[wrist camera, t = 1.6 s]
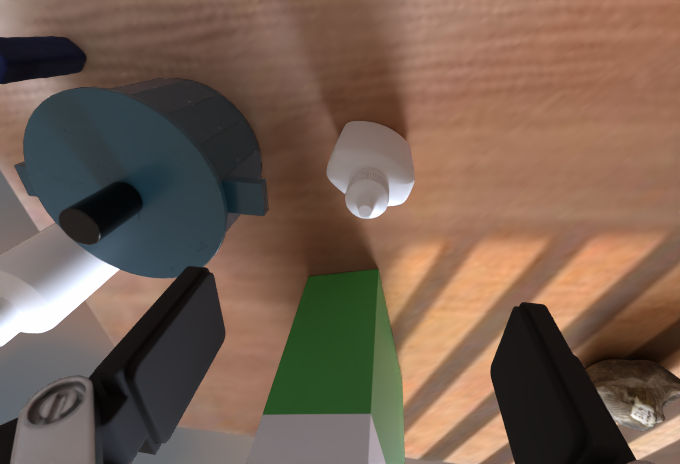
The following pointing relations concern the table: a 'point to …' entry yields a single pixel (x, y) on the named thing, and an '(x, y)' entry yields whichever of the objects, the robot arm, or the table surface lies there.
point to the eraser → (38, 58)
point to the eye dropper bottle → (371, 168)
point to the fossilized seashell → (635, 390)
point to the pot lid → (125, 181)
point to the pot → (207, 139)
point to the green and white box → (336, 380)
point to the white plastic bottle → (45, 282)
